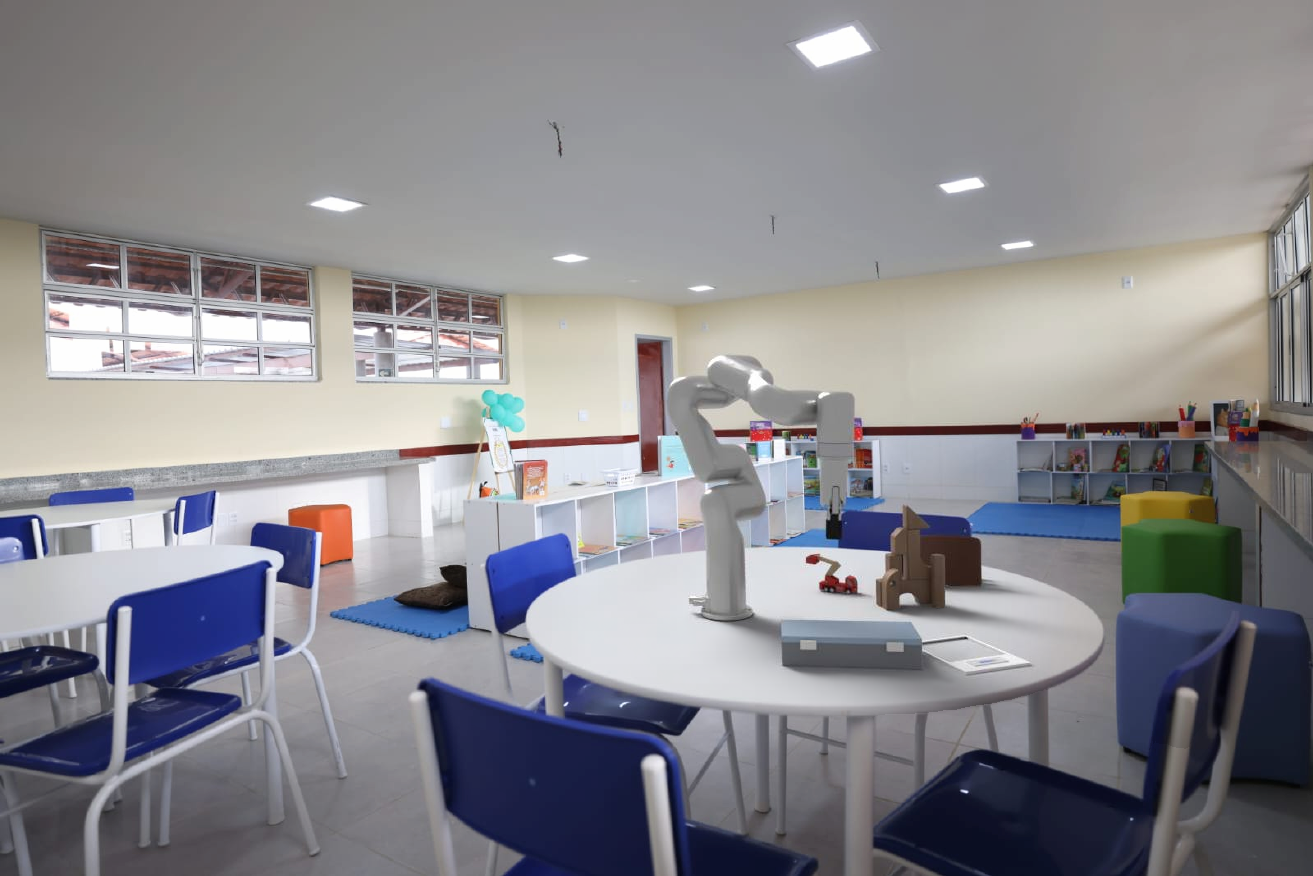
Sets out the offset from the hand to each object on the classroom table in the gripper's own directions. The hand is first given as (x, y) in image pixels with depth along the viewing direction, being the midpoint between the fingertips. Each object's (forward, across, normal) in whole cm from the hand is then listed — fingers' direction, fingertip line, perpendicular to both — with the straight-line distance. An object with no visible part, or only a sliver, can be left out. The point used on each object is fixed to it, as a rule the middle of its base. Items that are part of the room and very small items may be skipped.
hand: (833, 538), depth 152 cm
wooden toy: (+23, -31, +21) cm, 44 cm away
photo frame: (+22, +4, +26) cm, 34 cm away
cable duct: (+22, +9, +3) cm, 24 cm away
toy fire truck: (+24, -45, +2) cm, 51 cm away
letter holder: (+23, -58, +32) cm, 71 cm away
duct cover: (+18, +9, +3) cm, 21 cm away
